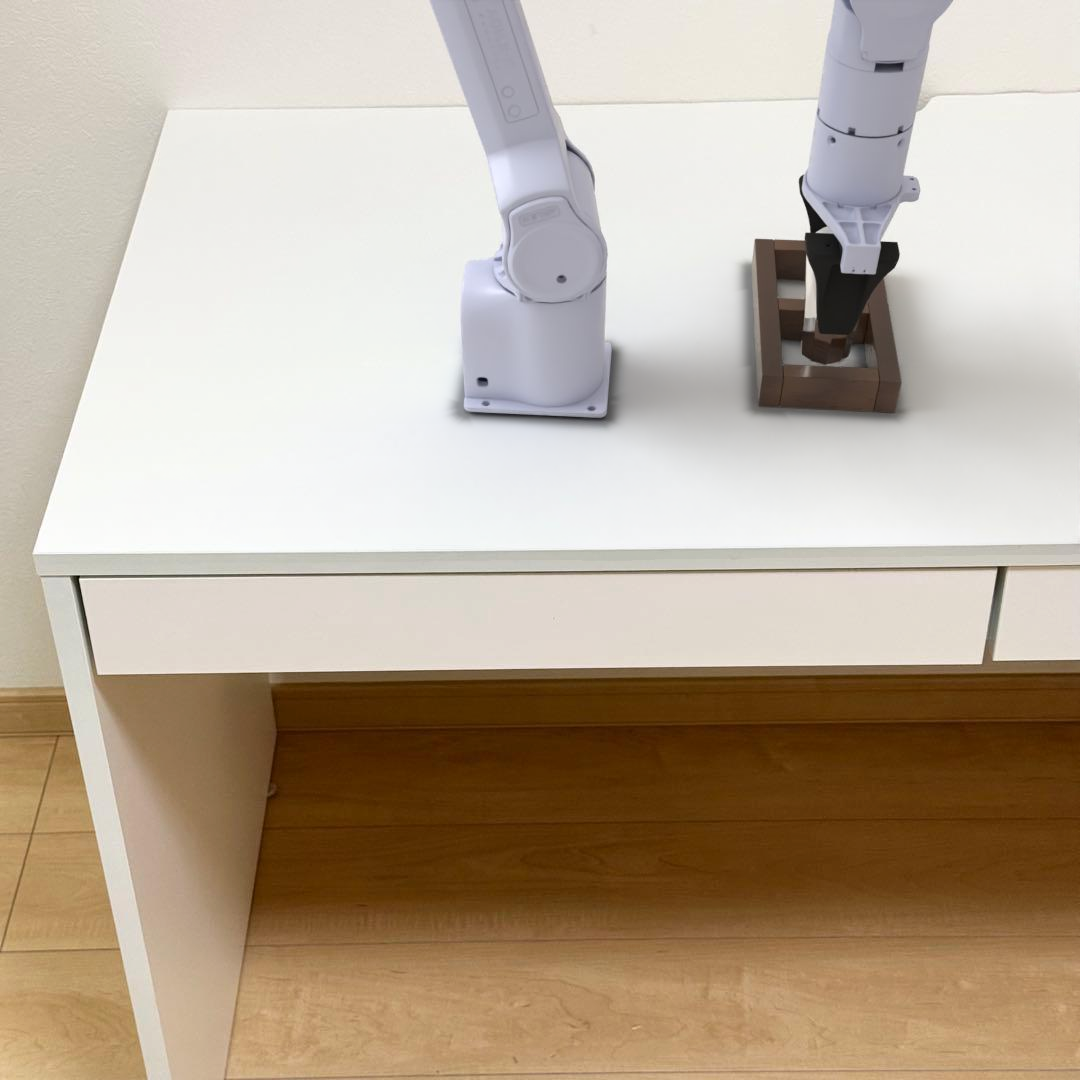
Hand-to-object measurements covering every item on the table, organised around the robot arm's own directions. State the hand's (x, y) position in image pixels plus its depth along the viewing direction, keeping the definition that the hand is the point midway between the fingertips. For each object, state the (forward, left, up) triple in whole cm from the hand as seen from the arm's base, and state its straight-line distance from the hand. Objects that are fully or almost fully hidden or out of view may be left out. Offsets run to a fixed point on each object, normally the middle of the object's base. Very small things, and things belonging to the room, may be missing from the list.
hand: (831, 306), depth 90 cm
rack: (0, +4, -5) cm, 6 cm away
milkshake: (0, 0, -4) cm, 4 cm away
